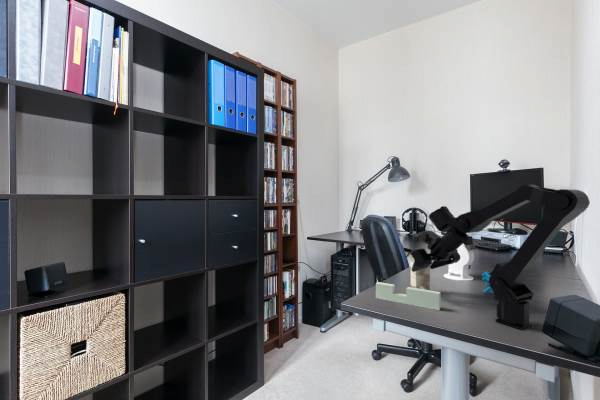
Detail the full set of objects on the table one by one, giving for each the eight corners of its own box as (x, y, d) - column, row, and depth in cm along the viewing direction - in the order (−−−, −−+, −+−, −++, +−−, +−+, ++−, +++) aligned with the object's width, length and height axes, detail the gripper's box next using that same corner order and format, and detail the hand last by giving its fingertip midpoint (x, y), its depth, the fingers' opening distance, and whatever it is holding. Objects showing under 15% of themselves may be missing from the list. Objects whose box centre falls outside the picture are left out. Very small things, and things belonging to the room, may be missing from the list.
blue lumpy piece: (498, 296, 102) (479, 270, 109) (484, 305, 106) (467, 279, 113) (517, 296, 107) (498, 271, 114) (504, 304, 111) (486, 280, 118)
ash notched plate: (424, 290, 114) (424, 260, 114) (429, 292, 112) (429, 261, 112) (410, 293, 111) (410, 262, 111) (415, 294, 109) (416, 263, 109)
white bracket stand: (480, 278, 130) (480, 243, 130) (464, 282, 125) (464, 245, 125) (454, 272, 141) (454, 239, 141) (437, 276, 135) (437, 241, 135)
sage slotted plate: (440, 308, 96) (440, 292, 96) (439, 310, 94) (439, 293, 94) (377, 296, 107) (377, 282, 107) (375, 298, 106) (375, 283, 106)
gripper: (452, 222, 111) (426, 248, 120) (415, 224, 102) (390, 252, 112) (474, 248, 104) (444, 273, 114) (435, 252, 95) (407, 280, 105)
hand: (421, 269), depth 111 cm, fingers open, 9 cm apart
